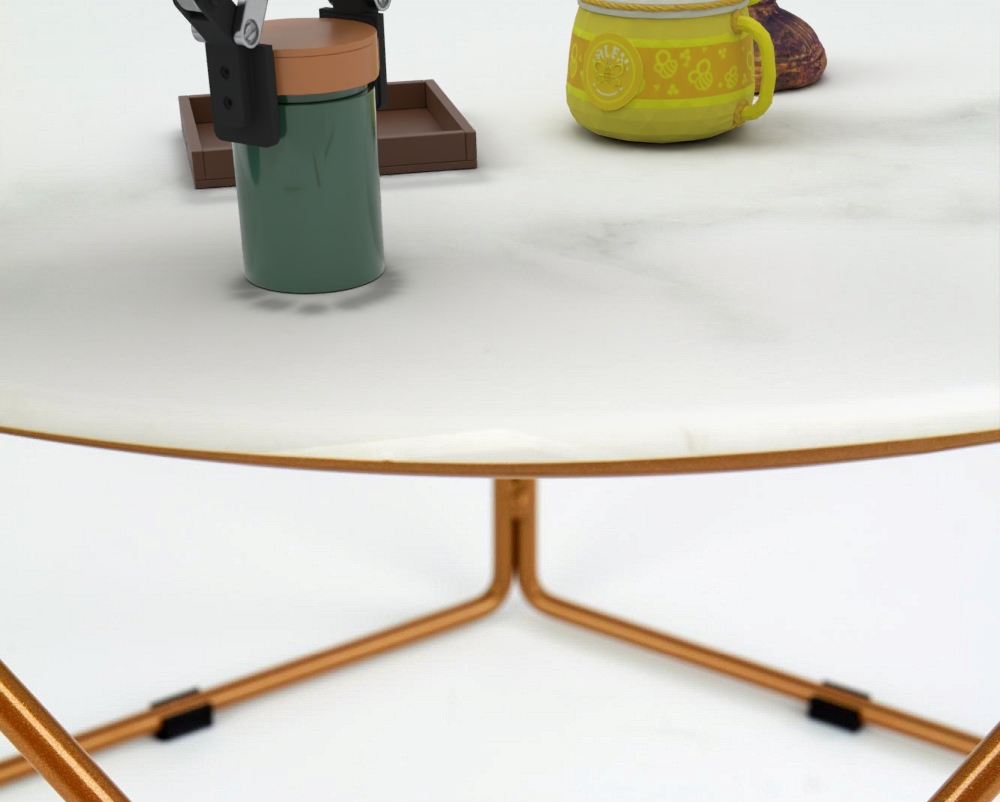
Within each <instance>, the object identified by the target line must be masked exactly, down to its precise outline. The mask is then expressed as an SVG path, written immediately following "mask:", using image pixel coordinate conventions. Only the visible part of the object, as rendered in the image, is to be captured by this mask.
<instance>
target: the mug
mask: <svg viewBox="0 0 1000 802" xmlns="http://www.w3.org/2000/svg"><path fill="white" fill-rule="evenodd" d="M576 1H577V5H578V8H577V12H576V14H575V17H574V21H573V25H572V29H571V37H570V44H569V51H568V59H567V60H568V62H567V70H566V71H567V73H566V83H565V94H566V95H565V96H566V104H567V107H568V109H569V111H570V114H571V116H572V117H573V119H574V120H575V121H576V123H577V124H579V125H580V126H581V127H583V128H585V129H586V130H589V131H590V132H591V133H594V134H595V135H598V136H603V137H607V138H611V139H617V140H622V141H627V142H640V143H651V144H668V143H678V142H679V143H680V142H689V141H690V142H691V141H696V140H697V141H699V140H704V139H710V138H713V137H715V136H718V135H721V134H723V133H726V132H729V131H731V130H734V129H735V128H740V127H742V126H743V125H744V124H745V123H746V122H747V121H754V120H758V119H759V118H760V117H762V116H764V115H765V114H766V113H767V111H768V110H769V109H770V107H771V105H772V104H773V101H774V93H775V91H774V87H775V80H776V68H775V57H774V46H773V43H772V40H771V37H770V34H769V33H768V32H767V31H766V29H765V28H764V27H763V26H762V25H761V24H760V23H759V22H757V21H756V20H754V19H753V18H751V17H750V16H749V12H748V7H747V6H749V5H753V4H756V3H758V2H759V1H761V0H576ZM753 39H754V40H755V41H756V43H757V44H758V48H759V51H760V55H761V73H762V80H761V86H760V92H759V93H758V98H757V100H756V101H755V103H753V102H754V100H755V93H754V91H755V70H754V47H753Z"/></svg>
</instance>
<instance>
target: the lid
mask: <svg viewBox="0 0 1000 802" xmlns="http://www.w3.org/2000/svg"><path fill="white" fill-rule="evenodd" d="M259 43H260V44H268V45H272V49H273V53H274V62H275V74H276V86H277V95H308V94H322V93H330V92H337V91H343V90H348V89H352V88H356V87H360V86H364V85H366V84H368V83H370V82H372V81H374V80H375V79H376V78H377V77H378V75H379V70H380V61H379V42H378V38H377V30H376V28H374V27H373V26H371V25H369V24H366V23H363V22H358V21H353V20H345V19H335V18H319V17H291V18H290V17H288V18H275V19H264V25H263V30H262V35H261V39H260V42H259Z"/></svg>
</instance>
